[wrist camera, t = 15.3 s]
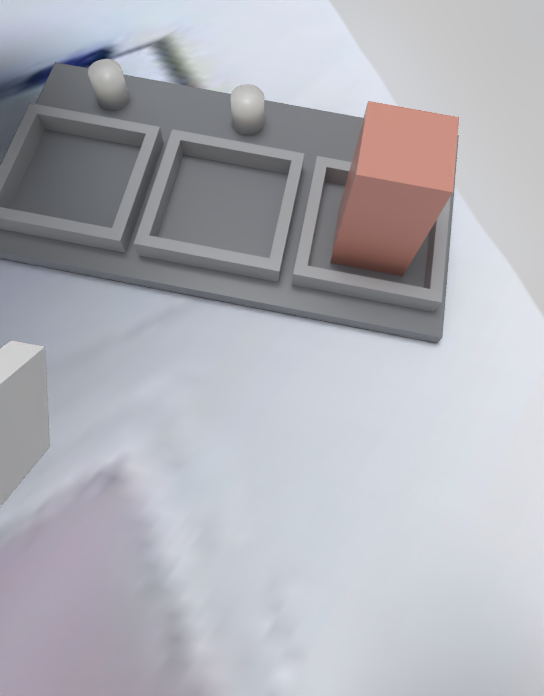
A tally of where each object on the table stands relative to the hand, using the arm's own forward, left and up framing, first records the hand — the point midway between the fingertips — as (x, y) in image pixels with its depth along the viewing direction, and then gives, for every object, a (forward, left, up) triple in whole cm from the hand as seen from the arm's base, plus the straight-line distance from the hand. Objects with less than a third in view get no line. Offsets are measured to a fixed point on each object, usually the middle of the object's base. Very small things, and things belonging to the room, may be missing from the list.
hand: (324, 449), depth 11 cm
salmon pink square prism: (+3, +18, -18) cm, 26 cm away
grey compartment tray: (-8, +20, -19) cm, 29 cm away
